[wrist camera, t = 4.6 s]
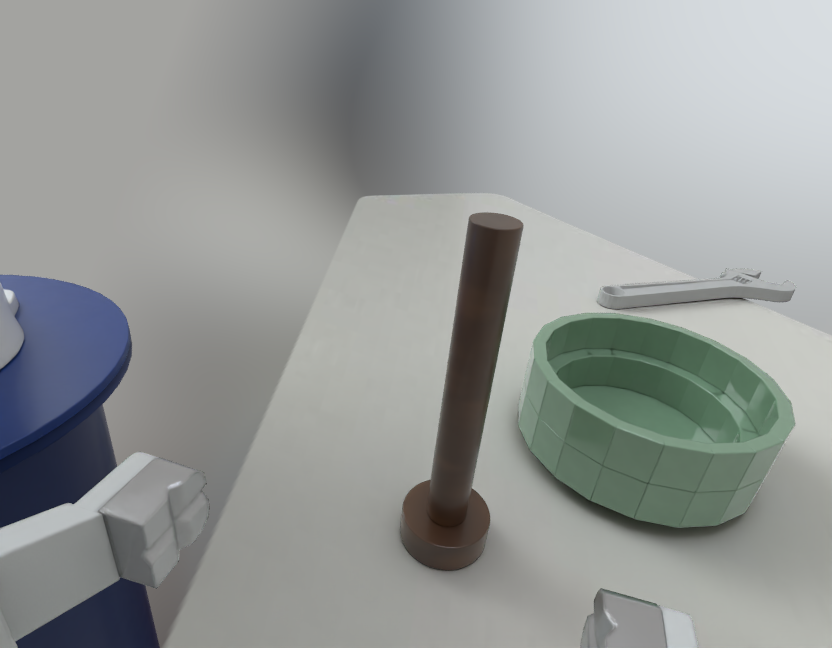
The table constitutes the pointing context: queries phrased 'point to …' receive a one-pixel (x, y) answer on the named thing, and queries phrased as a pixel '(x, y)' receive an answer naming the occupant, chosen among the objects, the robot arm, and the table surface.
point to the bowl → (651, 418)
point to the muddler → (465, 402)
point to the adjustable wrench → (696, 290)
